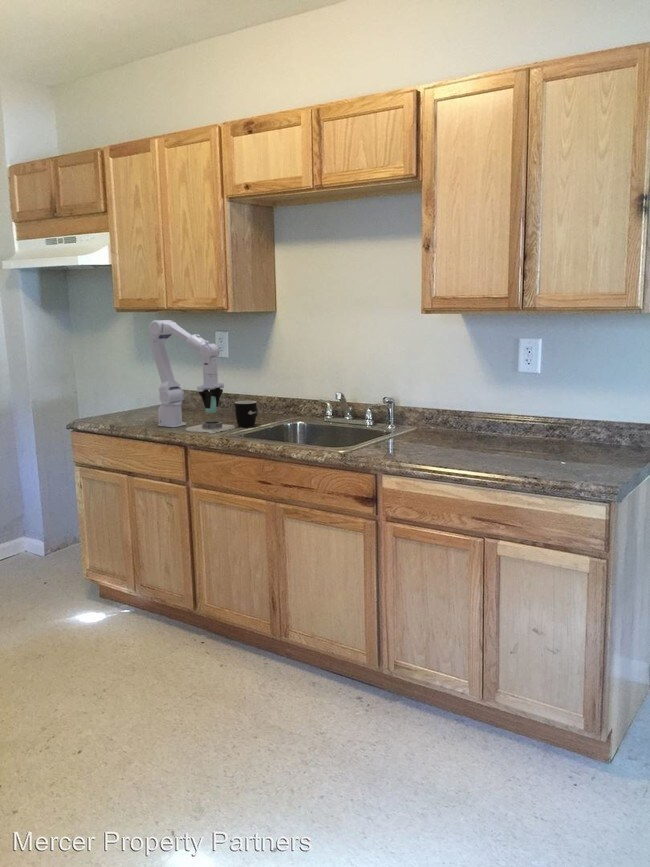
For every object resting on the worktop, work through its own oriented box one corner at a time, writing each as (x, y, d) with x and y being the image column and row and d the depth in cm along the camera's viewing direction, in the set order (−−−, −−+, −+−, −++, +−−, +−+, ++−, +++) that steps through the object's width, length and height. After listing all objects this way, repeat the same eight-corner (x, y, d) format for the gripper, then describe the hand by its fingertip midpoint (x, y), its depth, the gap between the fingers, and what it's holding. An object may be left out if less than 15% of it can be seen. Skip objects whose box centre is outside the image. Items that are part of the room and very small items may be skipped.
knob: (211, 413, 290) (210, 397, 289) (203, 412, 293) (202, 397, 292) (218, 411, 294) (218, 396, 293) (210, 411, 296) (210, 395, 295)
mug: (248, 428, 295) (247, 404, 293) (231, 426, 300) (230, 402, 298) (265, 424, 305) (265, 400, 303) (248, 422, 310) (247, 399, 308)
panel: (186, 430, 291) (185, 424, 291) (208, 425, 303) (208, 419, 303) (213, 433, 284) (213, 426, 284) (234, 428, 296) (234, 421, 296)
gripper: (206, 376, 282) (207, 410, 285) (229, 373, 295) (230, 405, 297) (192, 375, 286) (193, 409, 288) (215, 372, 298) (216, 404, 301)
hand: (211, 407), depth 293 cm, fingers closed on knob, 4 cm apart
